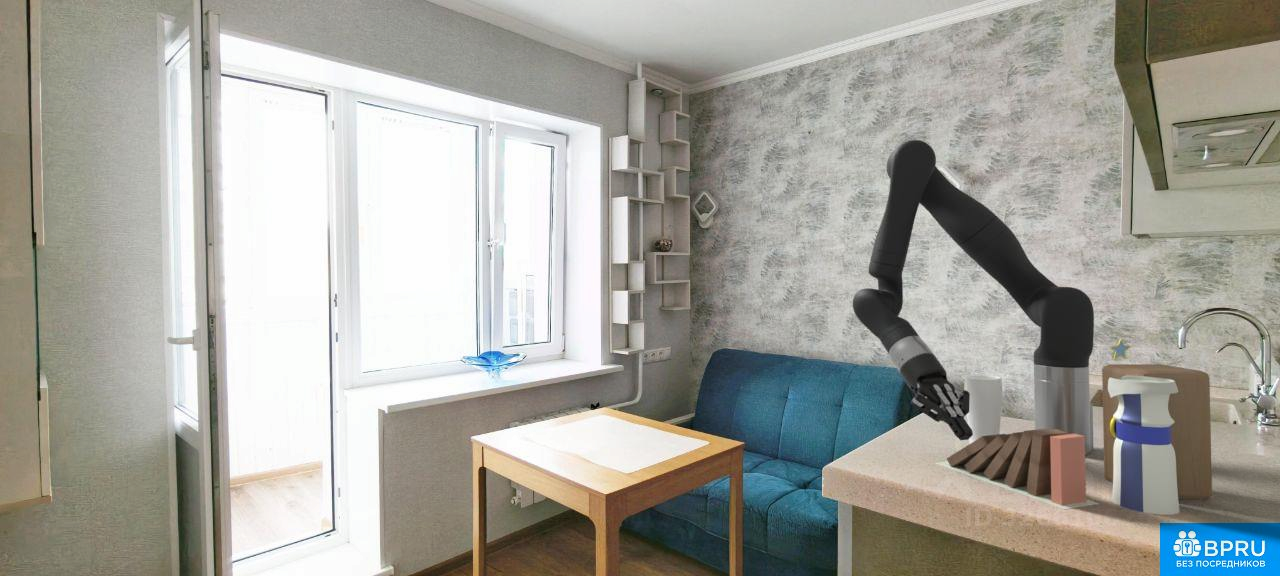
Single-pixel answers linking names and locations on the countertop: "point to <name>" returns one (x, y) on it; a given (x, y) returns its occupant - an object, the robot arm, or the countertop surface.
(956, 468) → the mat
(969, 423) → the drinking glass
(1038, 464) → the domino
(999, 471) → the domino
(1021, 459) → the domino
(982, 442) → the domino
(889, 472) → the countertop surface
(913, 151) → the robot arm
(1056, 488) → the domino
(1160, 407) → the white and blue jug
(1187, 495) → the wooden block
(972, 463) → the domino
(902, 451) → the countertop surface
